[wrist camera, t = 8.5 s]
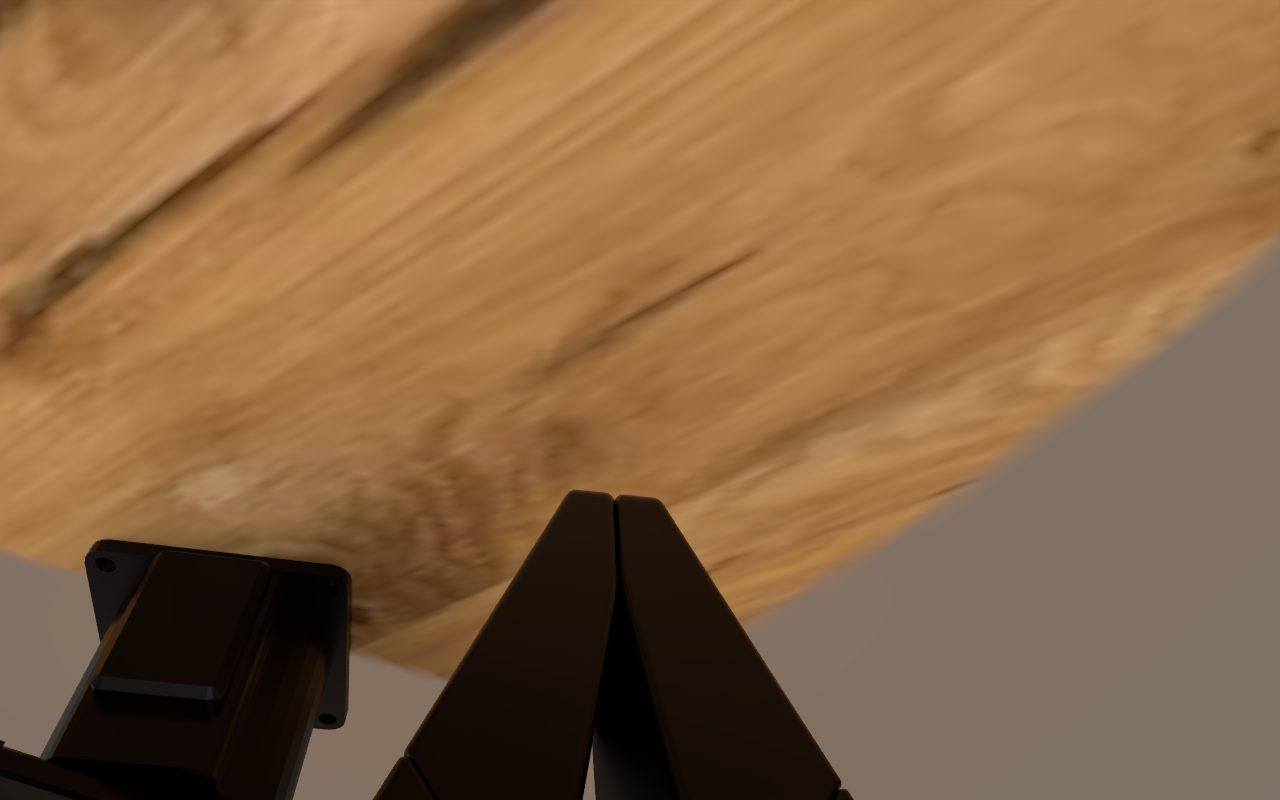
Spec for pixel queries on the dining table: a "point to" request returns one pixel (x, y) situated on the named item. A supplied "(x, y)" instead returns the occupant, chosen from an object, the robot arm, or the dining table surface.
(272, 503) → the dining table surface
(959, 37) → the dining table surface
